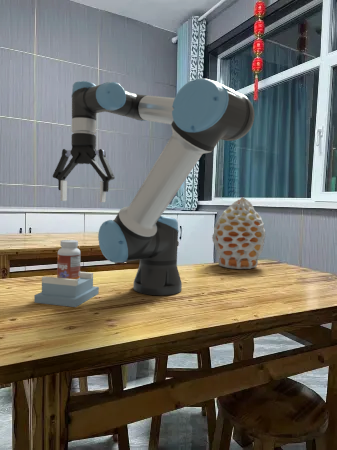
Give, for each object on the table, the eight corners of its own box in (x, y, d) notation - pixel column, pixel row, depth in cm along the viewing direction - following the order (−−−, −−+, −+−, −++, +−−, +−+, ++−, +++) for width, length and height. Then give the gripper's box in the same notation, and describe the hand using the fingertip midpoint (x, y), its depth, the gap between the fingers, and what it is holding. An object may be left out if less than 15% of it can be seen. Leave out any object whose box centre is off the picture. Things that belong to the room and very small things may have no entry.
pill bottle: (52, 279, 102) (53, 240, 101) (71, 276, 106) (72, 238, 105) (65, 283, 98) (66, 242, 97) (84, 280, 102) (85, 241, 101)
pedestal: (98, 293, 107) (98, 271, 107) (75, 307, 94) (76, 282, 93) (61, 289, 110) (62, 268, 110) (34, 302, 97) (34, 278, 96)
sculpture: (253, 274, 142) (256, 197, 140) (202, 267, 154) (205, 195, 152) (269, 266, 160) (273, 198, 158) (223, 260, 172) (226, 196, 170)
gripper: (125, 135, 116) (123, 202, 117) (54, 136, 121) (54, 200, 123) (116, 131, 108) (115, 203, 110) (41, 132, 114) (41, 200, 116)
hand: (82, 201), depth 116 cm, fingers open, 13 cm apart
